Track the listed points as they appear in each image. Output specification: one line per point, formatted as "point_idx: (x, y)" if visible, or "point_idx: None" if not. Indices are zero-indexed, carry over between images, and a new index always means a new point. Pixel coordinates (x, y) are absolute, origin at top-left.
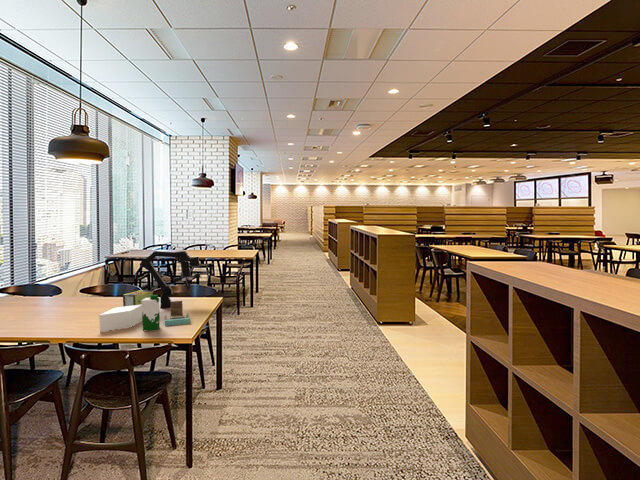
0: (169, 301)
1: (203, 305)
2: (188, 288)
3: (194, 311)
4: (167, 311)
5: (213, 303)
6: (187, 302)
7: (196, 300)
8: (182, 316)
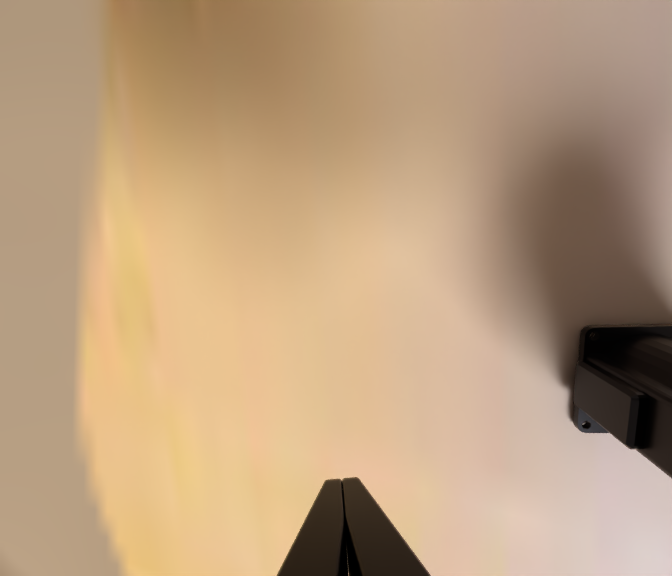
0: (643, 382)
1: (204, 336)
2: (347, 501)
3: (277, 60)
4: (613, 136)
5: (112, 396)
6: None
7: None
8: None
